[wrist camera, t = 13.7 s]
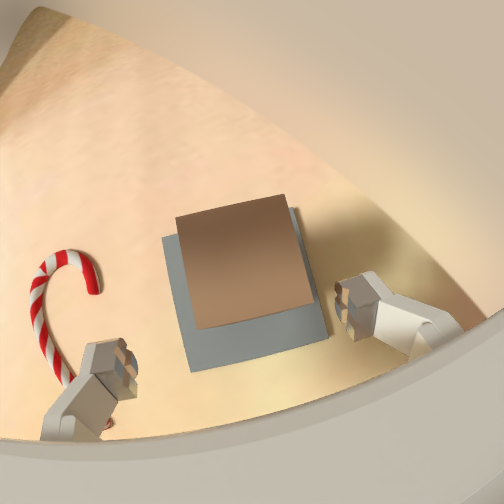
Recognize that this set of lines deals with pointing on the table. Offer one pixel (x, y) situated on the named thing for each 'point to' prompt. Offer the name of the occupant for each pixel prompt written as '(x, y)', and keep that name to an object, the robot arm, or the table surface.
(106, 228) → the table surface
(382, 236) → the table surface
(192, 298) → the walnut block
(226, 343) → the slate mat
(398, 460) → the robot arm
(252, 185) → the table surface
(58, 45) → the table surface
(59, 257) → the candy cane
